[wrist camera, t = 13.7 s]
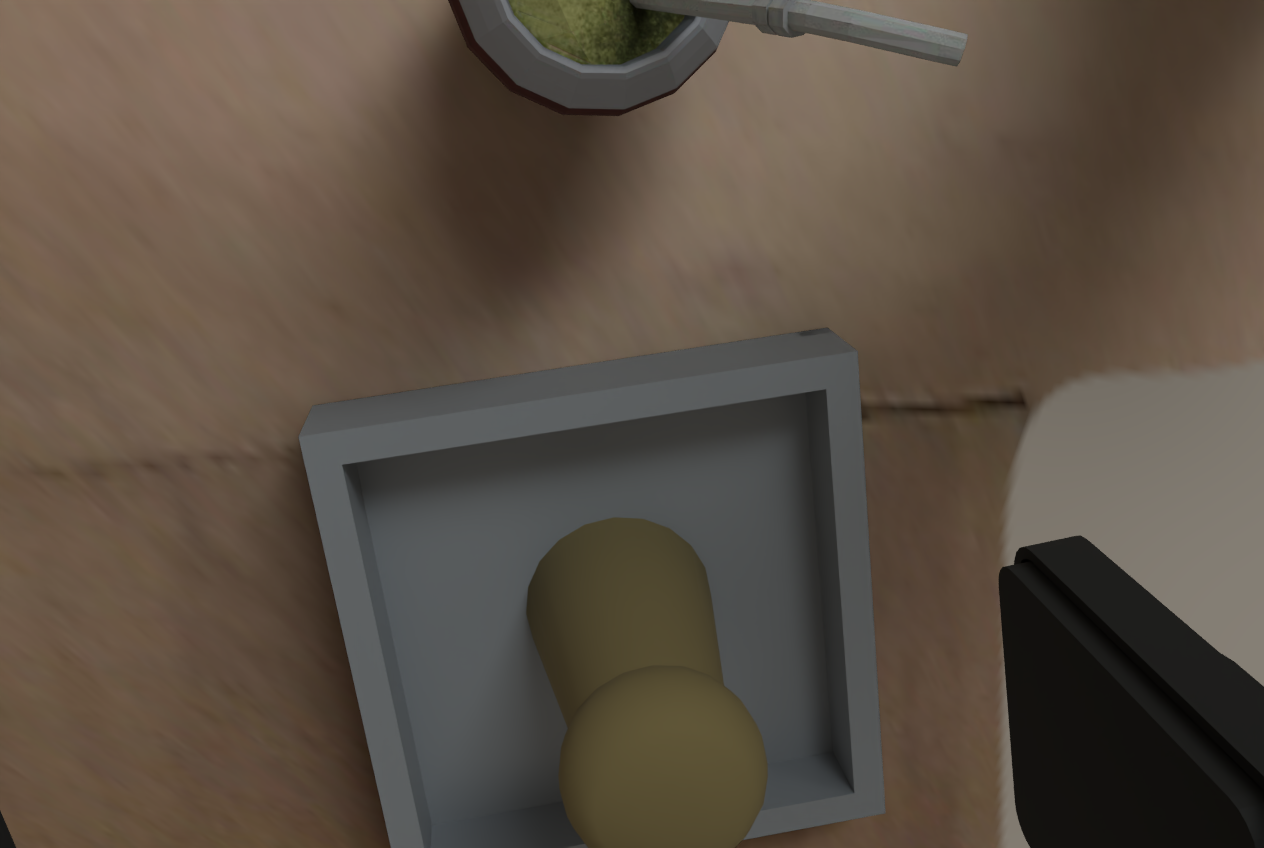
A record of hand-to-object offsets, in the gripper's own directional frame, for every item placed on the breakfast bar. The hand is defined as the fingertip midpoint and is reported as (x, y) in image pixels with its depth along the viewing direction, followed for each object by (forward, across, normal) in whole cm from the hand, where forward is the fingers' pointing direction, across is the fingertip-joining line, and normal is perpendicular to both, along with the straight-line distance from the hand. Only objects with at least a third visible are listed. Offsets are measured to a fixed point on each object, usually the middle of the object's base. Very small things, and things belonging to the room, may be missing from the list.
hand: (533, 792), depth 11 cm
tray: (+25, -1, +11) cm, 28 cm away
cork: (+25, -1, +11) cm, 27 cm away
